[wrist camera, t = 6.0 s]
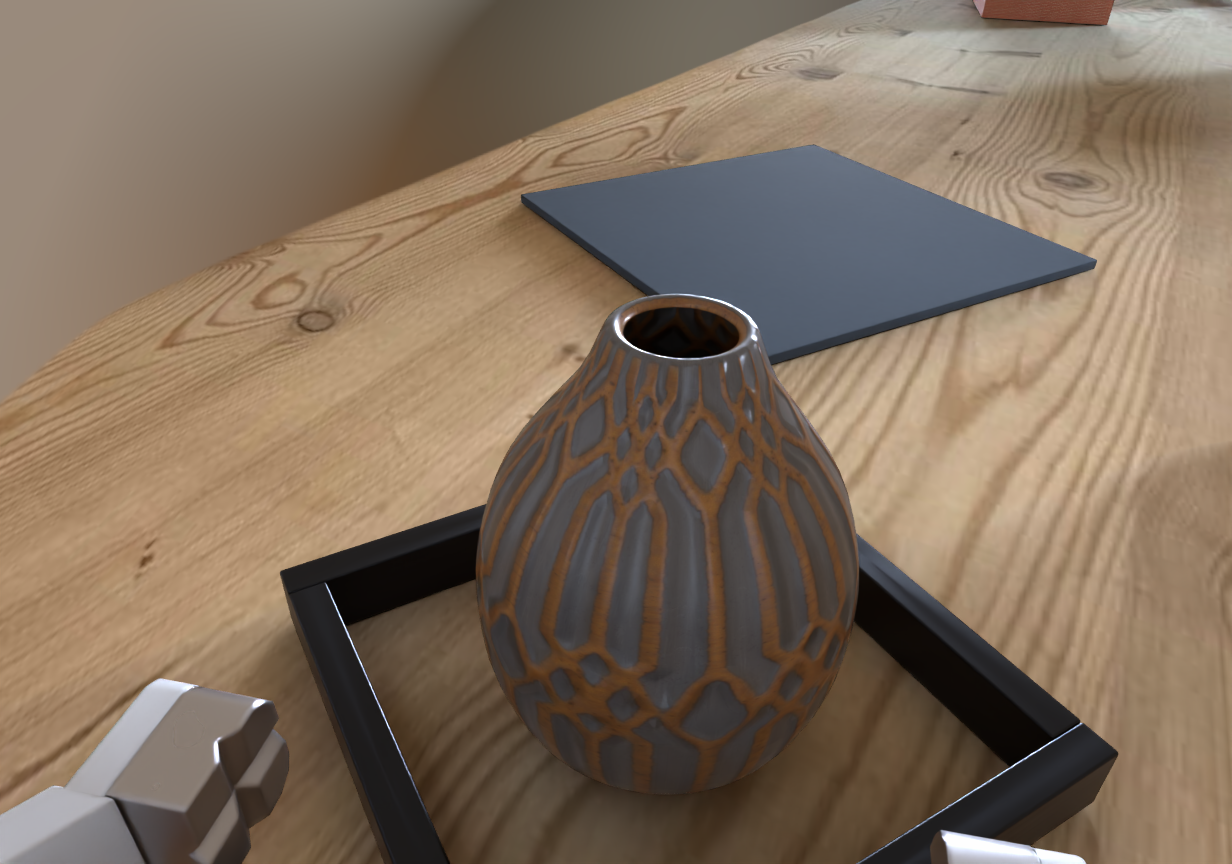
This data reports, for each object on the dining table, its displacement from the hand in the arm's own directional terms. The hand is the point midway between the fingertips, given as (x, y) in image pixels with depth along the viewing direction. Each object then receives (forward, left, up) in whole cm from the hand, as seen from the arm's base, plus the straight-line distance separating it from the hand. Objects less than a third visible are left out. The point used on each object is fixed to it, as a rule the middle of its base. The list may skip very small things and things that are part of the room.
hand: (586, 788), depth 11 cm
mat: (+23, +23, -5) cm, 33 cm away
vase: (+4, +4, -6) cm, 8 cm away
